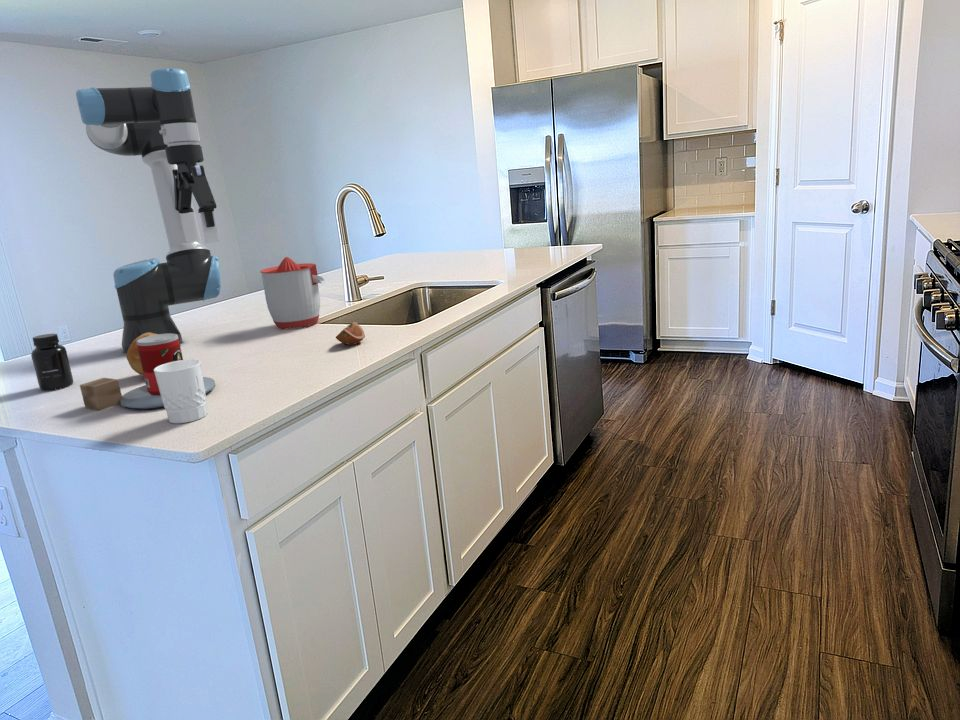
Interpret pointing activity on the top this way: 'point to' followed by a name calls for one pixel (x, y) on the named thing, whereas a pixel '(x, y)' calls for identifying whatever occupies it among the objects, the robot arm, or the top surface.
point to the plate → (152, 396)
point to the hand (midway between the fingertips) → (201, 241)
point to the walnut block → (101, 393)
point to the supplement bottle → (51, 363)
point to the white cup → (182, 390)
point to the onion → (136, 354)
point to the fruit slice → (351, 334)
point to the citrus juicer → (292, 293)
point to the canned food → (157, 356)
